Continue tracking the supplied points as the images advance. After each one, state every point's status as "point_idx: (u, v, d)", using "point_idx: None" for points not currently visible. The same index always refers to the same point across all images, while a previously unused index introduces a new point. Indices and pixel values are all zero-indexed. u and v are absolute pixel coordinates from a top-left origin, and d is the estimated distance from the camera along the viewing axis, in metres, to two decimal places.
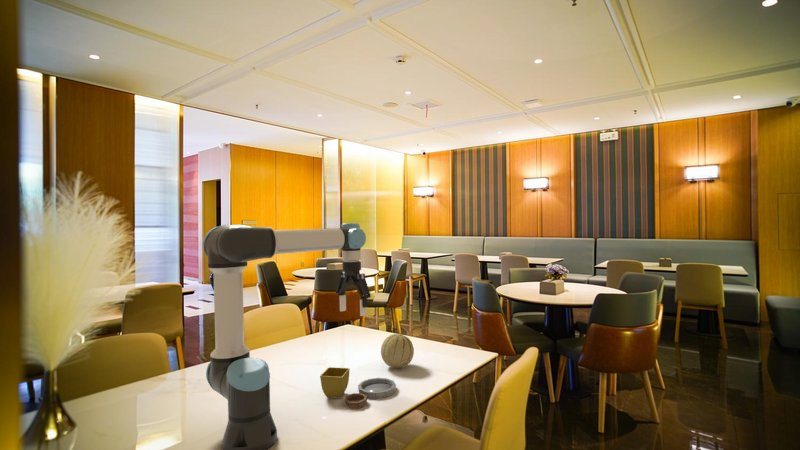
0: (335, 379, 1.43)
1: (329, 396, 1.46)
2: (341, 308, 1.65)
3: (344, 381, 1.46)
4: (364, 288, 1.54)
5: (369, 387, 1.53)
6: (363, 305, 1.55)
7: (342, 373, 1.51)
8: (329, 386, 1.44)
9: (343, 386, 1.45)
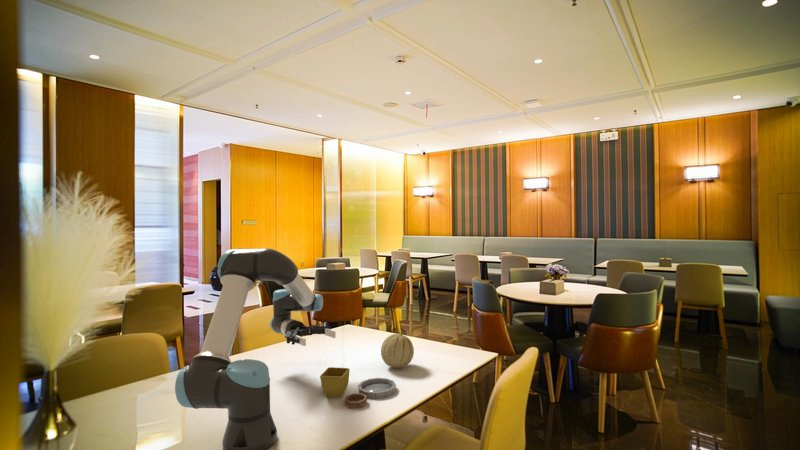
0: (335, 379, 1.43)
1: (329, 396, 1.46)
2: None
3: (344, 381, 1.46)
4: None
5: (369, 387, 1.53)
6: None
7: (342, 373, 1.52)
8: (329, 386, 1.44)
9: (343, 386, 1.45)
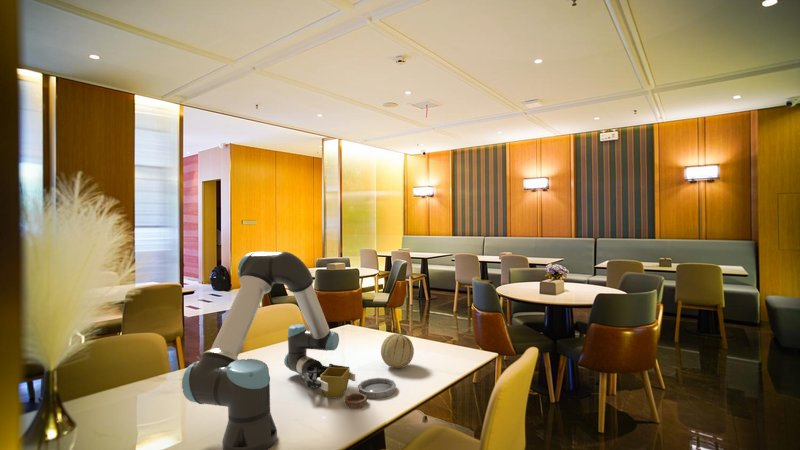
0: (335, 379, 1.43)
1: (329, 396, 1.46)
2: None
3: (344, 381, 1.46)
4: None
5: (369, 387, 1.53)
6: (349, 372, 1.53)
7: (342, 373, 1.51)
8: (329, 386, 1.44)
9: (343, 386, 1.45)
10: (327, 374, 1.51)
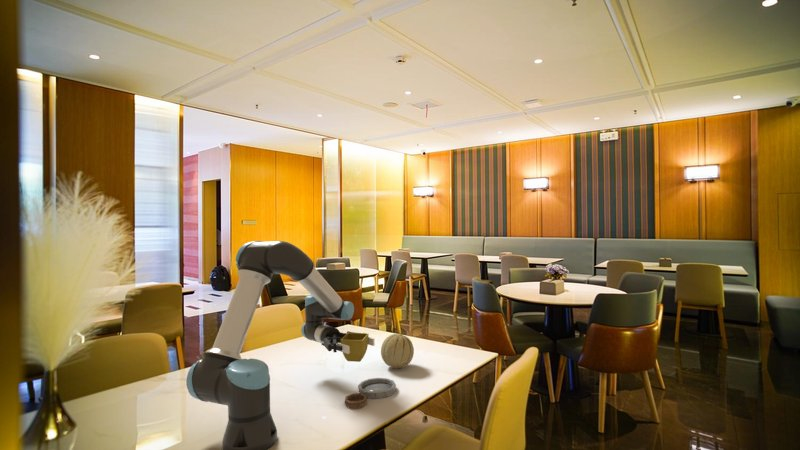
0: (356, 342, 1.46)
1: (349, 359, 1.48)
2: None
3: (364, 345, 1.49)
4: None
5: (369, 387, 1.53)
6: None
7: (361, 339, 1.55)
8: (350, 349, 1.47)
9: (363, 349, 1.48)
10: (346, 339, 1.53)
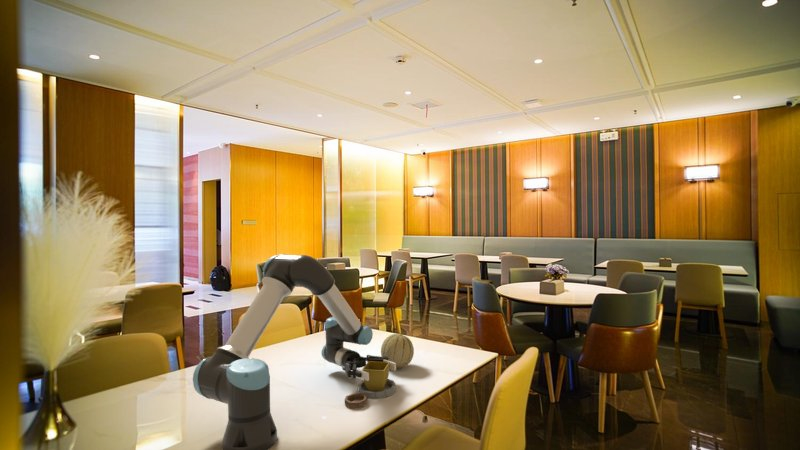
0: (377, 372, 1.47)
1: (371, 389, 1.49)
2: None
3: (386, 374, 1.50)
4: None
5: None
6: None
7: (382, 367, 1.55)
8: (371, 379, 1.48)
9: (385, 379, 1.49)
10: (368, 368, 1.54)
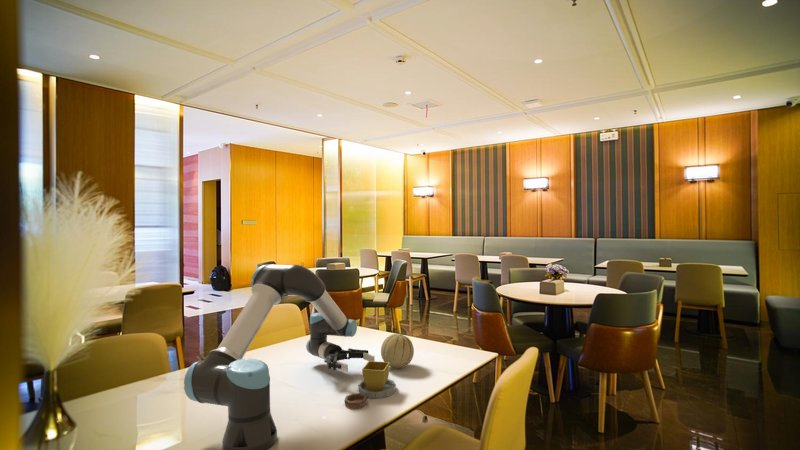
0: (377, 372, 1.47)
1: (371, 389, 1.49)
2: None
3: (386, 374, 1.50)
4: None
5: None
6: None
7: (382, 367, 1.55)
8: (371, 379, 1.48)
9: (385, 379, 1.49)
10: (368, 368, 1.54)
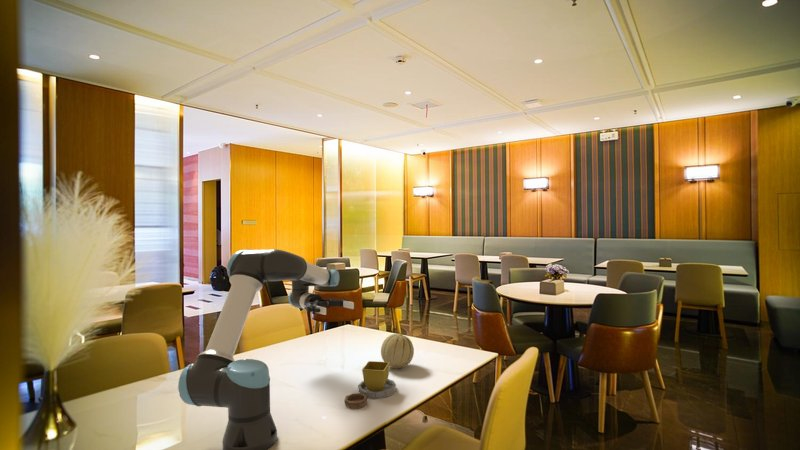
0: (377, 372, 1.47)
1: (371, 389, 1.49)
2: None
3: (386, 374, 1.50)
4: None
5: None
6: None
7: (382, 367, 1.55)
8: (371, 379, 1.48)
9: (385, 379, 1.49)
10: (368, 368, 1.54)
